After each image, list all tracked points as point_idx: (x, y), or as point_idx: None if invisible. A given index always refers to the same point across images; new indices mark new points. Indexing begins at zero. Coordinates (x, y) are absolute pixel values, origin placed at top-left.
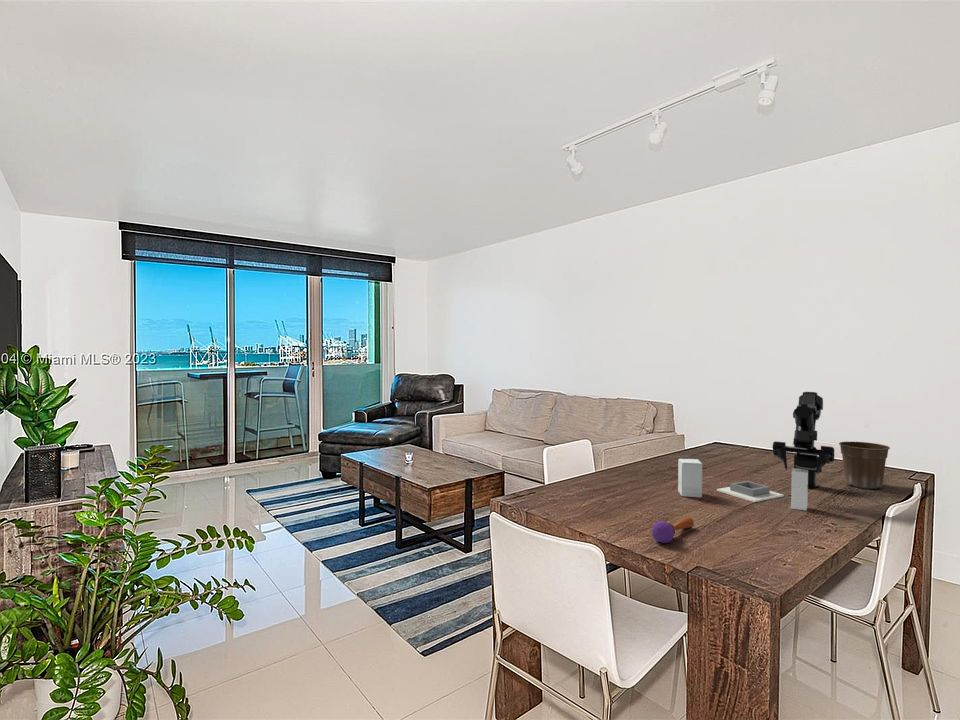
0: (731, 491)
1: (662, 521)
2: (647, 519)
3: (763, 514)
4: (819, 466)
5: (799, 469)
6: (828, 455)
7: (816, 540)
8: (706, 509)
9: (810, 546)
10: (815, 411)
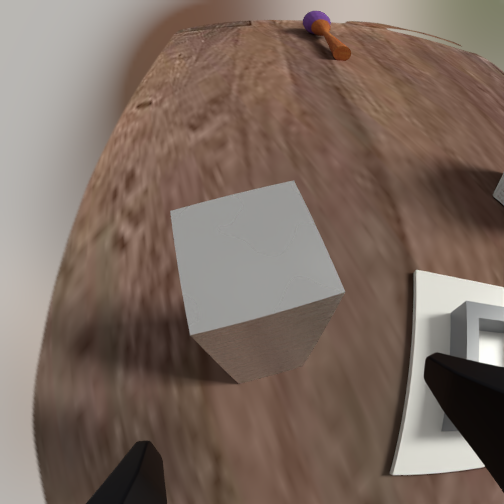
0: None
1: (318, 11)
2: (393, 60)
3: (310, 173)
4: (103, 484)
5: (269, 284)
6: None
7: (149, 121)
8: (409, 126)
9: (157, 98)
10: None
